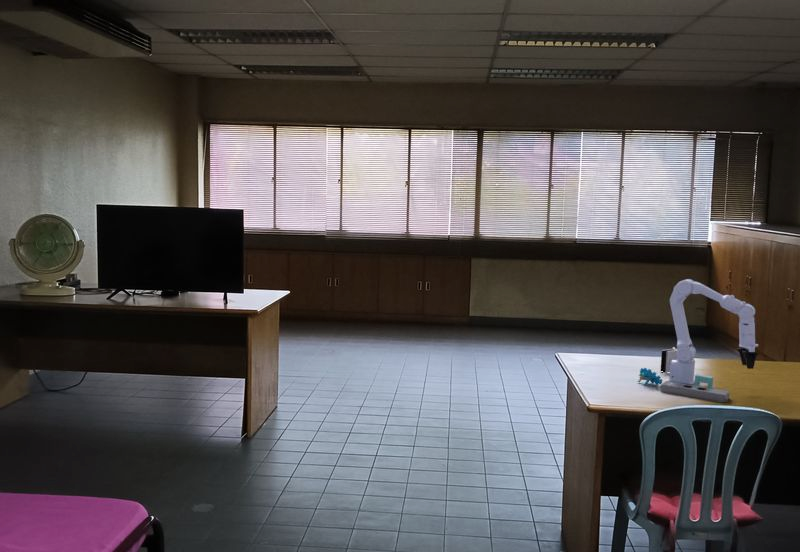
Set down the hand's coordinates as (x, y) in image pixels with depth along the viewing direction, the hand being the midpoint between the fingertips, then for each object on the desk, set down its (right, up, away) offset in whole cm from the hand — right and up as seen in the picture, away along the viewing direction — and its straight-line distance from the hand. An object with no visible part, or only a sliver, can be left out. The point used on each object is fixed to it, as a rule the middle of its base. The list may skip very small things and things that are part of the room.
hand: (747, 366), depth 280 cm
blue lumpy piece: (-38, -9, +7) cm, 39 cm away
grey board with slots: (-25, -10, -8) cm, 28 cm away
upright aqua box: (-18, -10, 0) cm, 21 cm away
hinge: (-18, -7, +35) cm, 40 cm away
